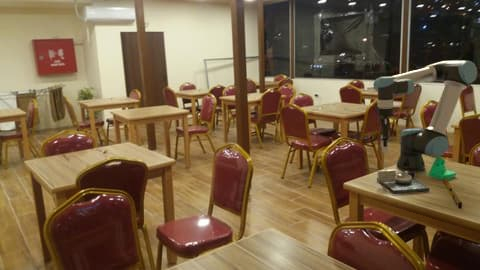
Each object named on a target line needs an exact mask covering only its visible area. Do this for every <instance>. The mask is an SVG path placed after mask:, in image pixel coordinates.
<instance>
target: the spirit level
mask: <svg viewBox="0 0 480 270" xmlns="http://www.w3.org/2000/svg"><path fill="white" fill-rule="evenodd" d="M442 184H443V185H444V187H445V188H446V190H447V192H448V193H449V195H450V196H451V198H452V200H453V201H454V203H455V204H456V206H457V208H458V209H462V207H463V202H462V200H461V199H460V198H459V196H458V195H457V193H456V192H455V190H453V187H452V186H451V184H450V183H449V180H446V178H443V179H442Z"/></svg>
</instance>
